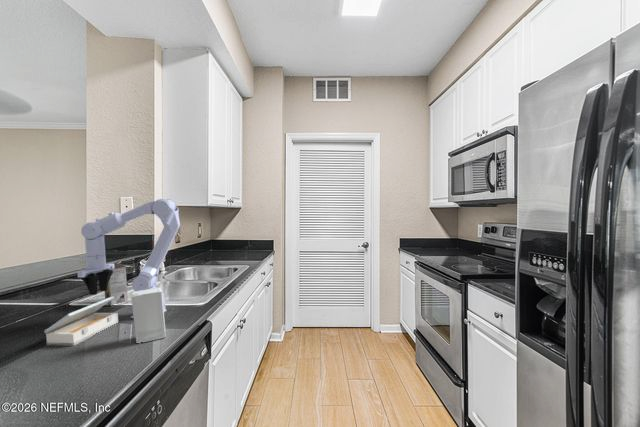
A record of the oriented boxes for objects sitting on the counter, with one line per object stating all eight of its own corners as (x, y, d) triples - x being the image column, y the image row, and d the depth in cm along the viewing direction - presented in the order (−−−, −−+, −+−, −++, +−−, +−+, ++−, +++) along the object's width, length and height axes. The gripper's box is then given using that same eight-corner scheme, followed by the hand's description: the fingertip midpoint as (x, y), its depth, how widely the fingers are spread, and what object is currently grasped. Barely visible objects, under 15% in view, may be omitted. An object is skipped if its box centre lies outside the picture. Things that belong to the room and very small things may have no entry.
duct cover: (114, 298, 115) (113, 295, 115) (69, 316, 97) (67, 313, 97) (94, 312, 116) (92, 310, 116) (45, 333, 98) (43, 330, 98)
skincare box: (165, 331, 105) (162, 286, 104) (165, 338, 100) (162, 290, 99) (135, 337, 101) (132, 290, 101) (134, 345, 96) (131, 295, 95)
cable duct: (119, 322, 115) (118, 312, 115) (75, 345, 97) (74, 334, 97) (95, 322, 116) (94, 312, 116) (47, 345, 98) (46, 333, 98)
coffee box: (104, 302, 140) (102, 265, 139) (121, 298, 145) (119, 262, 144) (111, 306, 134) (108, 267, 133) (128, 302, 138) (125, 265, 138)
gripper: (101, 252, 126) (104, 287, 126) (68, 259, 111) (71, 298, 112) (118, 251, 125) (120, 287, 125) (87, 259, 111) (89, 298, 111)
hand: (98, 292), depth 119 cm, fingers open, 4 cm apart
